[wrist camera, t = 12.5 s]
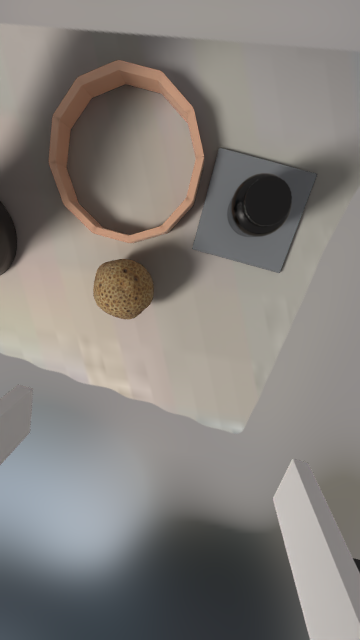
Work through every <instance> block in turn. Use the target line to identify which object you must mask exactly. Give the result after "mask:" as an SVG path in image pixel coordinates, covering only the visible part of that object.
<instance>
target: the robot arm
mask: <svg viewBox="0 0 360 640" xmlns="http://www.w3.org/2000/svg"><path fill="white" fill-rule="evenodd" d="M16 247H17V239H16V232H15V228H14V225H13V222H12V220H11V217H10V215H9V214H8V212H7V210H6V209H5V207H4V206H3V205H2V203H1V202H0V275H1V274H2V273H4V272H5V271H6V270H7V269H8V268H9V267H10V265H11V264H12V262H13V259H14V257H15V253H16ZM32 395H33V388H29V387H25V386H22V385H17V386H16V387H15V388H13V389H12V390H11V391H9V392H8V393H7V394H5V395H4V396H3V397H1V398H0V465H1V464H2V463H3V462H4V460H5V459H6V458H7V457H8V456H9V455H10V454H11V453H12V452H13V451H14V449H15V448H16V447H17V446H18V445H19V444H20V443H21V442H22V441H23V440H24V439H25V437H26V436H27V435H28V434H29V433H30V425H31V411H32ZM273 501H274V505H275V509H276V513H277V516H278V520H279V524H280V528H281V531H282V535H283V539H284V543H285V547H286V550H287V554H288V558H289V561H290V565H291V569H292V572H293V577H294V581H295V584H296V588H297V592H298V595H299V599H300V603H301V607H302V611H303V615H304V618H305V622H306V626H307V629H308V633H309V637H310V640H360V560H358V559H354V558H352V556H351V553H350V551H349V549H348V547H347V545H346V543H345V541H344V539H343V536H342V534H341V532H340V530H339V528H338V526H337V524H336V521H335V519H334V517H333V515H332V513H331V511H330V508H329V506H328V504H327V502H326V500H325V498H324V496H323V494H322V492H321V489H320V487H319V485H318V483H317V481H316V479H315V476H314V474H313V472H312V470H311V468H310V466H309V464H308V462H304V461H300V460H297V459H292V461H291V463H290V465H289V467H288V469H287V471H286V473H285V475H284V477H283V479H282V481H281V483H280V485H279V487H278V489H277V491H276V493H275V495H274V497H273Z"/></svg>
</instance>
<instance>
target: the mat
mask: <svg viewBox="0 0 360 640" xmlns="http://www.w3.org/2000/svg"><path fill="white" fill-rule="evenodd" d="M260 173H270V174H274V175H276V176H278V177H280V178H281V179H282V180H285V182H286V183H287V184H288V186H289V187H290V191H291V192H292V194H291V196H292V205H291V210H290V213H289V216H288V218H287V220H286V221H285V223H284V224H283V225H282V226H281V227H280V228H279V229H278V230H277V231H275V232H273V233H271V234H269V235H266V236H262V237H244V236H241V235H239V234H237V233H236V232H235V231H234V230H233V229H232V228H231V226H230V225H229V222H228V218H227V210H228V206H229V203H230V201H231V199H232V197H233V195H234V193H235V192H236V190H237V188H238V187H239V186H240V185H241V184H242V183H243V182H244V181H245V180H246V179H248V178H249V177H251V176H253V175H256V174H260ZM316 176H317V174H316V173H312V172H308V171H304V170H301V169H297V168H293V167H290V166H286V165H282V164H278V163H275V162H271V161H267V160H264V159H260V158H256V157H252V156H249V155H245V154H241V153H238V152H234V151H230V150H226V149H223V148H219V150H218V154H217V158H216V162H215V165H214V169H213V173H212V177H211V180H210V184H209V188H208V192H207V195H206V199H205V203H204V207H203V210H202V214H201V218H200V222H199V225H198V229H197V233H196V237H195V240H194V244H193V248H192V249H194V250H198V251H201V252H205V253H208V254H212V255H216V256H219V257H223V258H227V259H230V260H234V261H237V262H241V263H245V264H248V265H252V266H256V267H259V268H263V269H266V270H270V271H274V272H277V273H280V271H281V268H282V265H283V263H284V260H285V258H286V255H287V252H288V250H289V247H290V244H291V242H292V239H293V237H294V234H295V231H296V229H297V226H298V224H299V221H300V218H301V216H302V213H303V210H304V208H305V205H306V203H307V200H308V197H309V195H310V192H311V189H312V187H313V184H314V182H315V179H316Z"/></svg>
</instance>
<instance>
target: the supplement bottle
mask: <svg viewBox="0 0 360 640" xmlns="http://www.w3.org/2000/svg"><path fill="white" fill-rule="evenodd" d="M291 194H292V192H291V191H290V187H289V186H288V184H287V183H286V182H285V180H282V179H281V178H280V177H278V176H276V175H274V174H270V173H260V174H256V175H253V176H251V177H249V178H248V179H246V180H245V181H244V182H243V183H242V184H241V185H240V186H239V187H238V188H237V190H236V192H235V193H234V195H233V197H232V199H231V201H230V203H229V206H228V210H227V218H228V222H229V225H230V226H231V228H232V229H233V230H234V231H235V232H236V233H237V234H239V235H241V236H244V237H262V236H266V235H269V234H271V233H273V232H275V231H277V230H278V229H279V228H280V227H281V226H282V225H283V224H284V223H285V221H286V220H287V218H288V216H289V213H290V210H291V205H292V196H291Z"/></svg>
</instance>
